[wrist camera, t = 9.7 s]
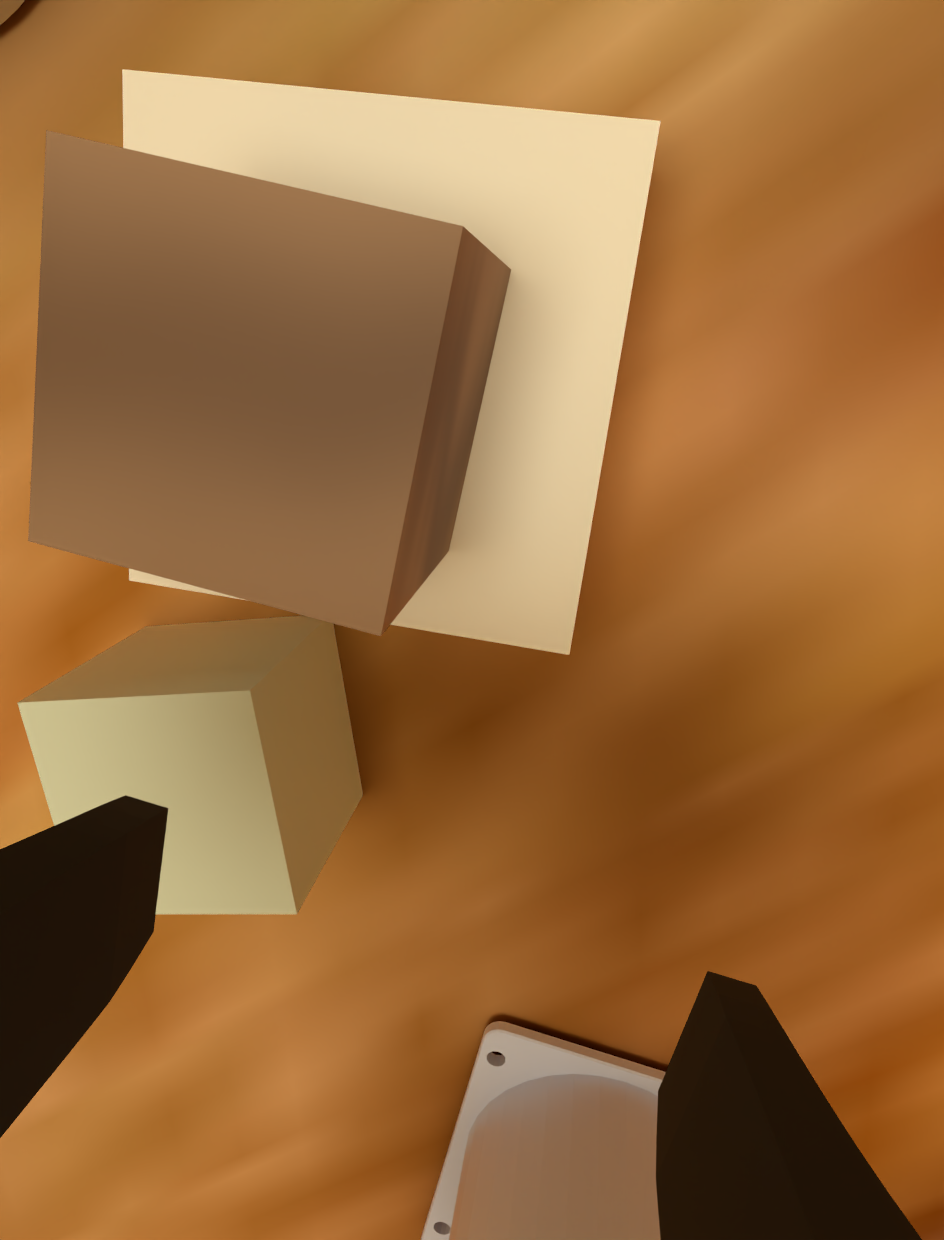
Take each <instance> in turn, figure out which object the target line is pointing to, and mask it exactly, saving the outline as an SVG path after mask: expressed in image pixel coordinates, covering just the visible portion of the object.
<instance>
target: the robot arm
mask: <svg viewBox="0 0 944 1240" xmlns="http://www.w3.org/2000/svg"><path fill="white" fill-rule="evenodd" d="M167 816H168V808H166V807H163V806H160V805H156V804H153V803H150V802H146V801H143V800H140V799H136V798H133V797H130V796H126V795H125V796H122V797H120V798H117V799H115V800H112V801H110V802H107V803H105V804H103V805H100V806H98V807H96V808H93V809H91V810H89V811H87V812H84V813H82V814H80V815H78V816H75V817H73V818H71V819H69V820H66V821H64V822H62V823H60V824H57V825H55V826H53V827H51V828H48V829H46V830H44V831H42V832H39V833H37V834H35V835H33V836H30V837H28V838H26V839H23V840H21V841H19V842H16V843H14V844H12V845H9V846H7V847H5V848H2V849H0V1138H1V1136H2V1135H3V1134H4V1133H5V1132H6V1130H7V1129H8V1128H9V1127H10V1125H11V1124H12V1123H13V1122H14V1120H15V1119H16V1118H17V1117H18V1115H19V1114H20V1113H21V1112H22V1111H23V1109H24V1108H25V1107H26V1106H27V1104H28V1103H29V1102H30V1101H31V1099H32V1098H33V1097H34V1096H35V1094H36V1093H37V1092H38V1091H39V1089H40V1088H41V1087H42V1086H43V1085H44V1083H45V1082H46V1081H47V1080H48V1078H49V1077H50V1076H51V1075H52V1073H53V1072H54V1071H55V1070H56V1068H57V1067H58V1066H59V1065H60V1064H61V1062H62V1061H63V1060H64V1059H65V1057H66V1056H67V1055H68V1054H69V1052H70V1051H71V1050H72V1049H73V1047H74V1046H75V1045H76V1044H77V1042H78V1041H79V1040H80V1039H81V1037H82V1036H83V1035H84V1034H85V1032H86V1031H87V1030H88V1029H89V1027H90V1026H91V1025H92V1023H93V1022H94V1021H95V1020H96V1018H97V1017H98V1016H99V1015H100V1013H101V1012H102V1011H103V1009H104V1008H105V1007H106V1006H107V1004H108V1003H109V1002H110V1000H111V999H112V997H113V996H114V994H115V993H116V991H117V989H118V988H119V986H120V985H121V983H122V982H123V980H124V979H125V977H126V976H127V974H128V972H129V971H130V969H131V968H132V966H133V964H134V963H135V961H136V959H137V958H138V956H139V955H140V953H141V951H142V950H143V948H144V946H145V945H146V943H147V941H148V940H149V938H150V937H151V935H152V933H153V931H154V922H155V914H156V906H157V898H158V890H159V882H160V873H161V865H162V857H163V849H164V841H165V833H166V824H167ZM493 1051H496V1052H500V1053H501V1054H502V1055H495V1054H494V1053H492V1052H493ZM421 1240H922V1239H921V1238H920V1236H919V1235H918V1234H917V1232H916V1231H915V1229H914V1228H913V1227H912V1225H911V1224H910V1222H909V1221H908V1220H907V1218H906V1217H905V1215H904V1214H903V1213H902V1211H901V1210H900V1208H899V1207H898V1206H897V1204H896V1203H895V1201H894V1200H893V1199H892V1197H891V1196H890V1194H889V1193H888V1192H887V1190H886V1189H885V1187H884V1186H883V1184H882V1183H881V1181H880V1180H879V1178H878V1177H877V1176H876V1174H875V1173H874V1171H873V1170H872V1168H871V1167H870V1165H869V1164H868V1162H867V1161H866V1159H865V1158H864V1156H863V1155H862V1153H861V1152H860V1150H859V1149H858V1147H857V1146H856V1144H855V1143H854V1141H853V1140H852V1138H851V1137H850V1135H849V1134H848V1132H847V1131H846V1129H845V1127H844V1126H843V1124H842V1123H841V1121H840V1120H839V1118H838V1117H837V1115H836V1113H835V1112H834V1110H833V1109H832V1107H831V1106H830V1104H829V1102H828V1101H827V1099H826V1098H825V1096H824V1095H823V1093H822V1091H821V1090H820V1088H819V1087H818V1085H817V1083H816V1082H815V1080H814V1079H813V1077H812V1075H811V1074H810V1072H809V1070H808V1069H807V1067H806V1066H805V1064H804V1062H803V1061H802V1059H801V1057H800V1056H799V1054H798V1053H797V1051H796V1049H795V1048H794V1046H793V1044H792V1043H791V1041H790V1039H789V1038H788V1036H787V1035H786V1033H785V1031H784V1030H783V1028H782V1026H781V1025H780V1023H779V1021H778V1020H777V1018H776V1016H775V1015H774V1013H773V1012H772V1010H771V1008H770V1007H769V1005H768V1003H767V1002H766V1000H765V999H764V997H763V996H762V994H761V992H760V991H759V989H758V988H757V986H755V985H752V984H749V983H745V982H742V981H739V980H736V979H732V978H729V977H726V976H722V975H719V974H716V973H712V972H709V971H708V972H707V974H706V976H705V979H704V981H703V984H702V986H701V989H700V991H699V993H698V996H697V998H696V1001H695V1003H694V1005H693V1008H692V1010H691V1013H690V1015H689V1017H688V1020H687V1022H686V1025H685V1027H684V1030H683V1032H682V1034H681V1037H680V1039H679V1042H678V1044H677V1046H676V1049H675V1051H674V1054H673V1056H672V1058H671V1061H670V1063H669V1066H668V1068H667V1070H666V1072H664V1071H661V1070H658V1069H654V1068H651V1067H648V1066H645V1065H642V1064H638V1063H635V1062H632V1061H629V1060H626V1059H622V1058H619V1057H616V1056H613V1055H610V1054H606V1053H603V1052H600V1051H597V1050H594V1049H590V1048H587V1047H584V1046H581V1045H578V1044H574V1043H571V1042H568V1041H565V1040H562V1039H558V1038H555V1037H552V1036H549V1035H546V1034H543V1033H539V1032H536V1031H533V1030H530V1029H527V1028H523V1027H520V1026H517V1025H514V1024H511V1023H507V1022H502V1021H497V1022H492V1023H491V1024H489V1025H487V1027H486V1029H485V1030H484V1034H483V1037H482V1040H481V1043H480V1047H479V1050H478V1053H477V1056H476V1060H475V1063H474V1066H473V1069H472V1073H471V1076H470V1079H469V1082H468V1086H467V1089H466V1092H465V1095H464V1099H463V1102H462V1105H461V1108H460V1112H459V1115H458V1118H457V1121H456V1125H455V1128H454V1131H453V1134H452V1138H451V1141H450V1144H449V1147H448V1151H447V1154H446V1157H445V1160H444V1164H443V1167H442V1170H441V1173H440V1177H439V1180H438V1183H437V1186H436V1190H435V1193H434V1196H433V1199H432V1203H431V1206H430V1209H429V1212H428V1216H427V1219H426V1222H425V1225H424V1229H423V1232H422V1236H421Z"/></svg>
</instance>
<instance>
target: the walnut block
mask: <svg viewBox="0 0 944 1240" xmlns="http://www.w3.org/2000/svg"><path fill="white" fill-rule="evenodd" d="M510 273H511V269H510V268H509V267H508V266H507V265H506V264H504V263H503V262H502V261H501V260H500V259H499V258H498V257H497V256H496V255H495V254H493V253H492V252H491V251H490V250H489V249H488V248H487V247H486V246H485V245H483V244H482V243H481V242H480V241H479V240H478V239H477V238H476V237H475V236H474V235H472V234H471V233H470V232H469V231H468V230H467V229H466V228H465V227H464V226H460V225H456V224H452V223H447V222H443V221H439V220H434V219H430V218H426V217H421V216H417V215H413V214H408V213H404V212H400V211H395V210H391V209H387V208H382V207H378V206H374V205H369V204H365V203H360V202H356V201H352V200H347V199H343V198H339V197H334V196H330V195H326V194H321V193H317V192H313V191H308V190H304V189H300V188H295V187H291V186H287V185H282V184H278V183H274V182H269V181H265V180H261V179H256V178H252V177H248V176H243V175H239V174H234V173H230V172H226V171H221V170H217V169H213V168H208V167H204V166H200V165H195V164H191V163H187V162H182V161H178V160H174V159H169V158H165V157H161V156H156V155H152V154H148V153H143V152H139V151H135V150H130V149H126V148H121V147H117V146H113V145H108V144H104V143H100V142H95V141H91V140H87V139H82V138H78V137H74V136H69V135H65V134H61V133H56V132H52V131H48V130H46V152H45V175H44V197H43V220H42V243H41V266H40V288H39V311H38V334H37V356H36V379H35V402H34V425H33V447H32V470H31V493H30V515H29V538H28V541H30V542H33V543H37V544H41V545H45V546H48V547H52V548H56V549H59V550H63V551H67V552H71V553H74V554H78V555H82V556H85V557H89V558H93V559H96V560H100V561H104V562H108V563H111V564H115V565H119V566H122V567H126V568H130V569H134V570H137V571H141V572H145V573H148V574H152V575H156V576H159V577H163V578H167V579H171V580H174V581H178V582H182V583H185V584H189V585H193V586H196V587H200V588H204V589H208V590H211V591H215V592H219V593H222V594H226V595H230V596H234V597H237V598H241V599H245V600H248V601H252V602H256V603H259V604H263V605H267V606H271V607H274V608H278V609H282V610H285V611H289V612H293V613H297V614H300V615H304V616H308V617H311V618H315V619H319V620H322V621H326V622H330V623H334V624H337V625H341V626H345V627H348V628H352V629H356V630H359V631H363V632H367V633H371V634H374V635H378V636H381V635H382V634H383V633H384V632H385V630H386V629H387V628H388V627H389V625H390V624H391V623H392V622H393V620H394V619H395V618H396V617H397V615H398V614H399V613H400V612H401V610H402V609H403V608H404V607H405V605H406V604H407V603H408V602H409V600H410V599H411V598H412V597H413V595H414V594H415V593H416V592H417V590H418V589H419V588H420V587H421V585H422V584H423V583H424V582H425V580H426V579H427V578H428V577H429V575H430V574H431V573H432V572H433V570H434V569H435V568H436V567H437V565H438V564H439V563H440V561H441V560H442V559H443V558H444V556H445V555H446V554H447V553H448V551H449V548H450V543H451V539H452V534H453V530H454V525H455V521H456V516H457V512H458V507H459V503H460V498H461V494H462V489H463V485H464V480H465V476H466V471H467V467H468V462H469V458H470V453H471V449H472V444H473V440H474V435H475V431H476V426H477V422H478V417H479V413H480V408H481V404H482V399H483V395H484V390H485V386H486V381H487V377H488V372H489V368H490V363H491V359H492V354H493V350H494V345H495V341H496V336H497V332H498V327H499V323H500V318H501V314H502V309H503V305H504V300H505V296H506V291H507V287H508V282H509V278H510Z"/></svg>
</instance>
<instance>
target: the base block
mask: <svg viewBox="0 0 944 1240" xmlns="http://www.w3.org/2000/svg"><path fill="white" fill-rule="evenodd" d="M122 73H123V148H126V149H130V150H135V151H139V152H143V153H148V154H152V155H156V156H161V157H165V158H169V159H174V160H178V161H182V162H187V163H191V164H195V165H200V166H204V167H208V168H213V169H217V170H221V171H226V172H230V173H234V174H239V175H243V176H248V177H252V178H256V179H261V180H265V181H269V182H274V183H278V184H282V185H287V186H291V187H295V188H300V189H304V190H308V191H313V192H317V193H321V194H326V195H330V196H334V197H339V198H343V199H347V200H352V201H356V202H360V203H365V204H369V205H374V206H378V207H382V208H387V209H391V210H395V211H400V212H404V213H408V214H413V215H417V216H421V217H426V218H430V219H434V220H439V221H443V222H447V223H452V224H456V225H460V226H464V227H465V228H466V229H467V230H468V231H469V232H470V233H471V234H472V235H474V236H475V237H476V238H477V239H478V240H479V241H480V242H481V243H482V244H483V245H485V246H486V247H487V248H488V249H489V250H490V251H491V252H492V253H493V254H495V255H496V256H497V257H498V258H499V259H500V260H501V261H502V262H503V263H504V264H506V265H507V266H508V267H509V268H510V269H511V273H510V278H509V282H508V287H507V291H506V296H505V300H504V305H503V309H502V314H501V318H500V323H499V327H498V332H497V336H496V341H495V345H494V350H493V354H492V359H491V363H490V368H489V372H488V377H487V381H486V386H485V390H484V395H483V399H482V404H481V408H480V413H479V417H478V422H477V426H476V431H475V435H474V440H473V444H472V449H471V453H470V458H469V462H468V467H467V471H466V476H465V480H464V485H463V489H462V494H461V498H460V503H459V507H458V512H457V516H456V521H455V525H454V530H453V534H452V539H451V543H450V548H449V551H448V553H447V554H446V555H445V556H444V558H443V559H442V560H441V561H440V563H439V564H438V565H437V567H436V568H435V569H434V570H433V572H432V573H431V574H430V575H429V577H428V578H427V579H426V580H425V582H424V583H423V584H422V585H421V587H420V588H419V589H418V590H417V592H416V593H415V594H414V595H413V597H412V598H411V599H410V600H409V602H408V603H407V604H406V605H405V607H404V608H403V609H402V610H401V612H400V613H399V614H398V615H397V617H396V618H395V619H394V620H393V622H392V623H391V624H390V625H395V626H401V627H407V628H413V629H419V630H425V631H431V632H437V633H443V634H449V635H454V636H460V637H466V638H472V639H478V640H484V641H490V642H496V643H502V644H508V645H513V646H519V647H525V648H531V649H537V650H543V651H549V652H555V653H561V654H567V655H569V654H570V648H571V642H572V637H573V631H574V625H575V619H576V613H577V607H578V601H579V596H580V590H581V584H582V578H583V572H584V566H585V561H586V555H587V549H588V543H589V537H590V531H591V525H592V520H593V514H594V508H595V502H596V496H597V490H598V484H599V479H600V473H601V467H602V461H603V455H604V449H605V444H606V438H607V432H608V426H609V420H610V414H611V408H612V403H613V397H614V391H615V385H616V379H617V373H618V367H619V362H620V356H621V350H622V344H623V338H624V332H625V327H626V321H627V315H628V309H629V303H630V297H631V291H632V286H633V280H634V274H635V268H636V262H637V256H638V250H639V245H640V239H641V233H642V227H643V221H644V215H645V210H646V204H647V198H648V192H649V186H650V180H651V174H652V169H653V163H654V157H655V151H656V145H657V139H658V133H659V128H660V122H661V121H655V120H645V119H634V118H624V117H614V116H603V115H593V114H582V113H572V112H562V111H551V110H541V109H530V108H520V107H509V106H499V105H489V104H478V103H468V102H457V101H447V100H437V99H426V98H416V97H405V96H395V95H384V94H374V93H364V92H353V91H343V90H332V89H322V88H312V87H301V86H291V85H280V84H270V83H259V82H249V81H239V80H228V79H218V78H207V77H197V76H187V75H176V74H166V73H155V72H145V71H135V70H124V69H122ZM129 580H130V581H136V582H142V583H147V584H153V585H159V586H165V587H171V588H177V589H183V590H189V591H195V592H201V593H206V594H212V595H218V596H224V597H230V598H236V599H241V598H237V597H234V596H230V595H226V594H222V593H219V592H215V591H211V590H208V589H204V588H200V587H196V586H193V585H189V584H185V583H182V582H178V581H174V580H171V579H167V578H163V577H159V576H156V575H152V574H148V573H145V572H141V571H137V570H134V569H130V568H129ZM242 600H245V599H242Z"/></svg>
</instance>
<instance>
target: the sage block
mask: <svg viewBox="0 0 944 1240" xmlns="http://www.w3.org/2000/svg"><path fill="white" fill-rule="evenodd" d="M18 706H19V709H20V713H21V716H22V719H23V723H24V726H25V729H26V733H27V736H28V740H29V743H30V746H31V750H32V753H33V756H34V760H35V763H36V766H37V770H38V773H39V776H40V780H41V783H42V786H43V790H44V793H45V796H46V800H47V803H48V806H49V810H50V813H51V817H52V820H53V823H54V826H55V825H57V824H60V823H62V822H64V821H66V820H69V819H71V818H73V817H75V816H78V815H80V814H82V813H84V812H87V811H89V810H91V809H93V808H96V807H98V806H100V805H103V804H105V803H107V802H110V801H112V800H115V799H117V798H120V797H122V796H125V795H126V796H130V797H133V798H136V799H140V800H143V801H146V802H150V803H153V804H156V805H160V806H163V807H166V808H168V816H167V824H166V833H165V841H164V849H163V857H162V865H161V873H160V882H159V890H158V898H157V906H156V914H297V913H298V911H299V910H300V908H301V906H302V904H303V902H304V901H305V899H306V897H307V895H308V893H309V892H310V890H311V888H312V886H313V884H314V883H315V881H316V879H317V877H318V875H319V874H320V872H321V870H322V868H323V866H324V865H325V863H326V861H327V859H328V857H329V856H330V854H331V852H332V850H333V848H334V847H335V845H336V843H337V841H338V839H339V837H340V836H341V834H342V832H343V830H344V828H345V827H346V825H347V823H348V821H349V819H350V818H351V816H352V814H353V812H354V810H355V809H356V807H357V805H358V803H359V801H360V800H361V798H362V796H363V791H362V786H361V780H360V774H359V768H358V762H357V757H356V751H355V745H354V739H353V734H352V728H351V722H350V716H349V711H348V705H347V699H346V693H345V687H344V682H343V676H342V670H341V664H340V659H339V653H338V647H337V641H336V636H335V630H334V624H333V623H330V622H326V621H322V620H319V619H315V618H311V617H308V616H304V615H302V616H287V617H273V618H258V619H243V620H229V621H214V622H200V623H185V624H171V625H156V626H146V627H144V628H143V629H141V630H139V631H138V632H136V633H134V634H133V635H131V636H129V637H127V638H126V639H124V640H122V641H121V642H119V643H117V644H116V645H114V646H112V647H111V648H109V649H107V650H106V651H104V652H102V653H100V654H99V655H97V656H95V657H94V658H92V659H90V660H89V661H87V662H85V663H84V664H82V665H80V666H79V667H77V668H75V669H73V670H72V671H70V672H68V673H67V674H65V675H63V676H62V677H60V678H58V679H57V680H55V681H53V682H52V683H50V684H48V685H46V686H45V687H43V688H41V689H40V690H38V691H36V692H35V693H33V694H31V695H30V696H28V697H26V698H25V699H23V700H21V701H19V702H18Z"/></svg>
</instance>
